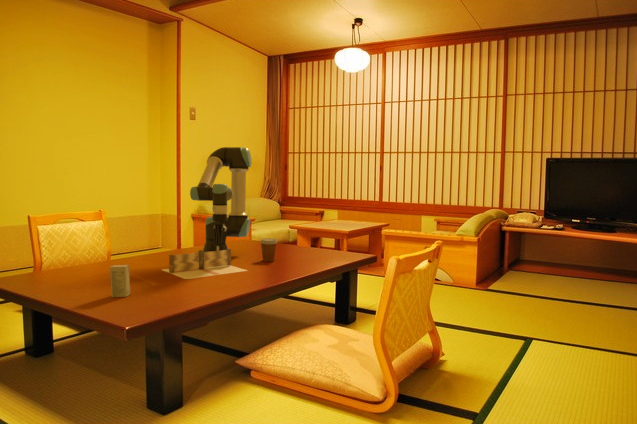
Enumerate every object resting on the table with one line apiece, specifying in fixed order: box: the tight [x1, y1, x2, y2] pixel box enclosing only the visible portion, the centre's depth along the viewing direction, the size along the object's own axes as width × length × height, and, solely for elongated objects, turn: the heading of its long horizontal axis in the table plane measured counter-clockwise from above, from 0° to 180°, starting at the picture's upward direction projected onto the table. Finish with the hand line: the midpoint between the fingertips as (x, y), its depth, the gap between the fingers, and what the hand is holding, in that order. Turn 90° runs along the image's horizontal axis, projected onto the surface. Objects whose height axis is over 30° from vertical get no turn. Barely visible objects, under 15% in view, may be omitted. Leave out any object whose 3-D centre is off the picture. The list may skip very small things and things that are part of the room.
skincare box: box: [109, 264, 131, 298], centre depth 200 cm, size 6×4×12 cm
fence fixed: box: [168, 249, 203, 274], centre depth 250 cm, size 18×2×9 cm, turn 130°
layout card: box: [161, 264, 249, 280], centre depth 252 cm, size 28×34×1 cm
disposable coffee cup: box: [260, 238, 278, 262], centre depth 284 cm, size 10×10×12 cm
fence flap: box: [203, 248, 232, 268], centre depth 260 cm, size 15×2×9 cm, turn 127°
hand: (219, 257), depth 264 cm, fingers closed
